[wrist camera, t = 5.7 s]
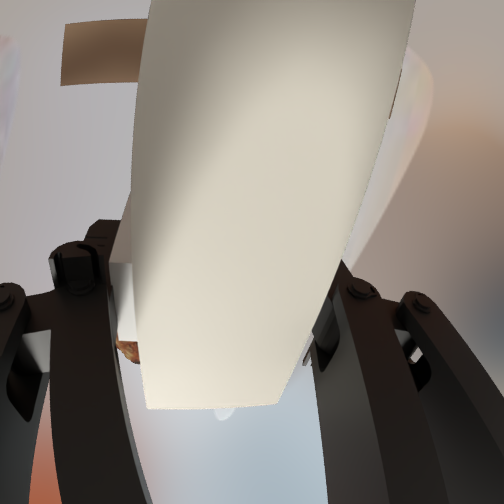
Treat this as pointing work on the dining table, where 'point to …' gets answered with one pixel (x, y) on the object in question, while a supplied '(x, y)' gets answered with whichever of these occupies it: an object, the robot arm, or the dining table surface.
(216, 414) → the dining table surface
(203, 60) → the cream bar
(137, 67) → the walnut rail
